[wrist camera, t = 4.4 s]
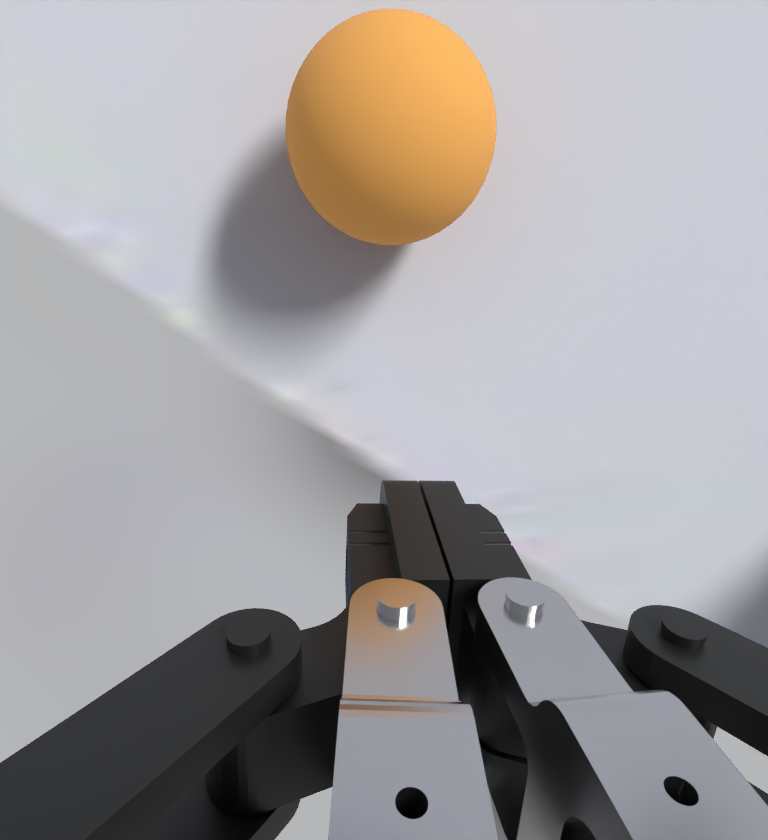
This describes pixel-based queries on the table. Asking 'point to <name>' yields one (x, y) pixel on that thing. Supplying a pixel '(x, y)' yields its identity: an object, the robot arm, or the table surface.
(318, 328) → the table surface
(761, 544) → the table surface
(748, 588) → the table surface
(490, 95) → the ball
